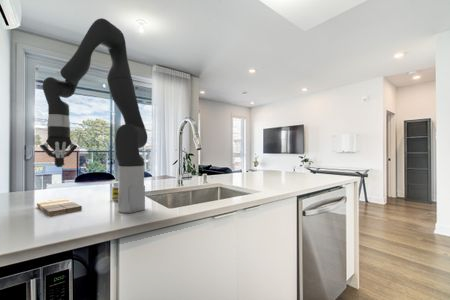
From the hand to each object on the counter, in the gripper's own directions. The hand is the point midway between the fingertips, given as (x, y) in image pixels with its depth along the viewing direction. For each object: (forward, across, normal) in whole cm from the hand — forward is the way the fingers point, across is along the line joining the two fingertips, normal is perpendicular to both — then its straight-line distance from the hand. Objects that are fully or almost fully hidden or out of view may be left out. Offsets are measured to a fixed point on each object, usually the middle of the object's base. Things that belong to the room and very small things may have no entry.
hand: (59, 166), depth 89 cm
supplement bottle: (+17, +20, -9) cm, 28 cm away
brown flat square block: (+16, -2, -11) cm, 20 cm away
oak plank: (+16, -2, -1) cm, 16 cm away
